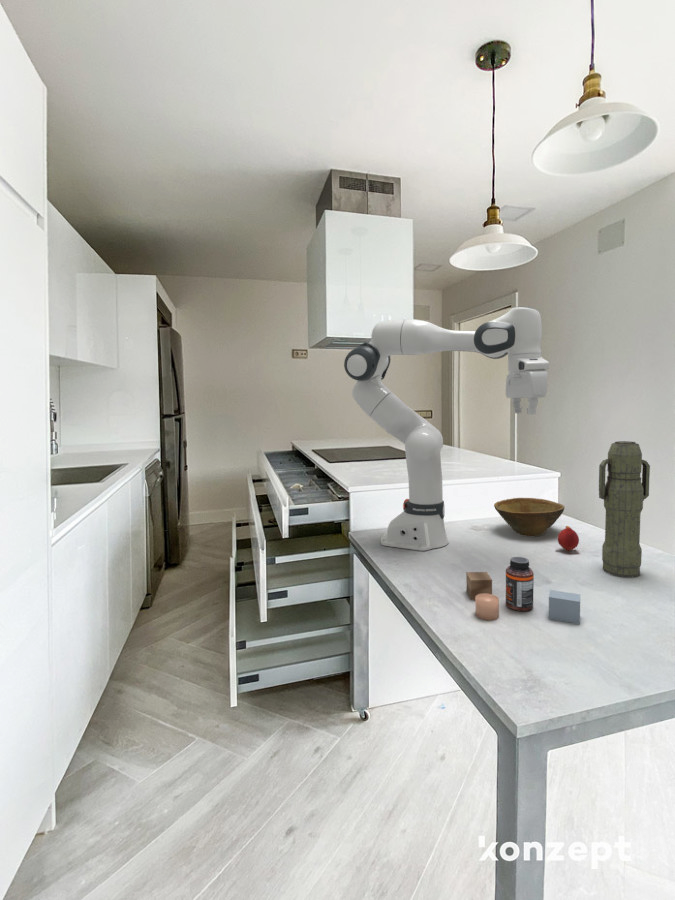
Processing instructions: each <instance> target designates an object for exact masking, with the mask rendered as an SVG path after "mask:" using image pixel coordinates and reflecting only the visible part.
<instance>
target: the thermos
mask: <svg viewBox="0 0 675 900" xmlns="http://www.w3.org/2000/svg"><path fill="white" fill-rule="evenodd" d="M606 467H607V470H606ZM650 470H651V465H650V463H649V462H648V460H644V459H643V453H642V450H641V446H640V444H639V443H637V442H636V441H625V440H624V441H623V440H622V441H618V440H617V441H614V442H612V443H611V444H610V447H609V449H608V452H607V458H605V459H603V460H602V461H601V463H599V467H598V476H599V477H598V498H599V499H601V500H603V507H604V509H605V525H604V526H605V527H604V530H605V531H604V542H603V543H602V547H601V548H602V549H601V551H602V552H601V561H602V570H603V572H604V573H607V574H608V575H611V576H615V577H620V578H628V579H629V578H636V577H639V576H640V575H641V566H642V551H643V549H642V546H641V544H640V539H641V538H640V537H641V536H640V535H641V532H640V531H641V513H642V511H643V509H644V501H645V499H647V498H648V497H649V496H650V474H651V473H650V472H651V471H650ZM606 471H607V473H608V474H607V476H606Z"/></svg>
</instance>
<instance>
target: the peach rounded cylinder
mask: <svg viewBox="0 0 675 900" xmlns="http://www.w3.org/2000/svg"><path fill="white" fill-rule="evenodd" d="M474 602H475V605H474V606H475V609H474V610H475V611H474V612H475V613H474V614H475V616H476V617H477V618H478V619H480V620H483V621H495V620H498V619H499V618H500V598H499V597H498V596H497V595H495V594H493V593H492V594H488V593H482V594H478V595H476V596H475V600H474Z"/></svg>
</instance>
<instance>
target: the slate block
mask: <svg viewBox="0 0 675 900" xmlns="http://www.w3.org/2000/svg"><path fill="white" fill-rule="evenodd" d="M548 619H549V620H554V621H561V622H566V623H573V624H577V625H580V624H581V593H574V592H568V591H567V592H566V591H561V590H553V589H550V590H549V594H548Z"/></svg>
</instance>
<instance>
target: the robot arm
mask: <svg viewBox="0 0 675 900" xmlns="http://www.w3.org/2000/svg"><path fill="white" fill-rule="evenodd" d="M370 336H371V337H370V338H371V339H370V341H369V342H367V341H365V342H363V343H362V344H360V345H358V346H356V347H354V348H353V349H351V351H349V352H348V353H347V355H346V357H345V358H344V361H343V367H344V370H345V372H346V373H345V374H346V375H348V377H350V378H351V379H352V380H355V381H356V383H355V385H354V386H353V388H352V393H351V395H352V397H353V400H354V401H355V402H356V404H357V405H358V406H359V408H361V410H362V411H363V412H364V413H365V414H366V415H367V417H368V416H369V418H370V419H371V420H373V421H374V422H375V423H376V424H377V425H379V427H381V428H382V429H383V430H384V431H385V432H386V433H387V434H389V435H391V436H392V437H394V438H395V439H396V440H398V441H400V442H401V443H402V444H404V450H405V460H406V469H407V477H408V498H405V500H403V504H402V508H403V511H402V512H401V513H400V514H398V515H397V516H396V517H394V518H393V519H392V520H391V521H390V522H389V523H388V526H387V531H386V532H385V533H384V534H383V535H382V536H381V538H380V544H381V545H382V546H386V547H392V548H398V549H399V548H400V549H407V550H413V551H414V550H415V551H421V552H427V551H429V550H432V549H438V548H443V547H444V546H446V545H448V544H449V539H448V537H447V532H446V527H445V516H446V515H445V514H446V513H445V500H444V497H443V474H442V461H441V460H442V459H441V458H442V456H441V451H442V449H443V445H444V438H443V435H442V433H441V431H440V430H439V429H438V428H436V427H435V426H434V425H433V424H431V422H429V421H428V420H426V419H425V418H424V417H423V416H421V415H420V414H418V413H417V411H415V410H414V409H412V408H411V407H409V406H408V405H407V404H406V403H405V402H404V401H402V400H401V398H399V397H398V396H397V395H396V394H395V393H394V392H392V391H391V390H390V389H389V388H388V387H387V386H386V385H385V384H384V383H383V380H385V377H386V374H387V372H388V369H389V367H390V364H391V360H392V359H391V356H398V355H399V356H419V355H425V354H426V355H427V354H433V353H438V352H446V351H448V352H471V353H478V354H481V355H483V356H485V357H487V358H489V359H493V360H498V359H502V358H504V357H506V356H507V372H508V374H507V375H506V380H505V397H506V398H507V399H511V403H512V406H513V413H514V414H521V413H522V409H523V408H522V407H521V400H522V399H525V398H526V399H527V402H528V407H526V408H527V409H526V414H527V415H529V416H530V415H535V414H536V408H537V406H538V403H539V399H540V398H545V397H546V394H547V391H548V377H549V376H548V371H547V370H548V369H550V362H549V361H548V360H546V359H545V358H544V357H542V356H543V354H542V349H541V342H542V339H543V338H542V337H543V326H542V316H541V313H540V312H539V311H538V310H537V309H536V308H534V307H531V306H515V307H514V306H513V307H512V308H510V309H509V310H508V311H507V312H506V313H504V314H503V315H501V316H499V317H497V318H495V319H492V320H490V321H487V322H484V323H482V324H480V326H479V327H477V329H475V330H474V331H471V330H451V329H447V328H444V327H440V326H439V325H436V324H434V323H432V322H429V321H427V320H422V319H421V320H420V319H415V318H399V319H397V318H396V319H390V320H384V321H379V322H377V323H376V324H375V325H374V327H373V328H372V331H371V335H370Z"/></svg>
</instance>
